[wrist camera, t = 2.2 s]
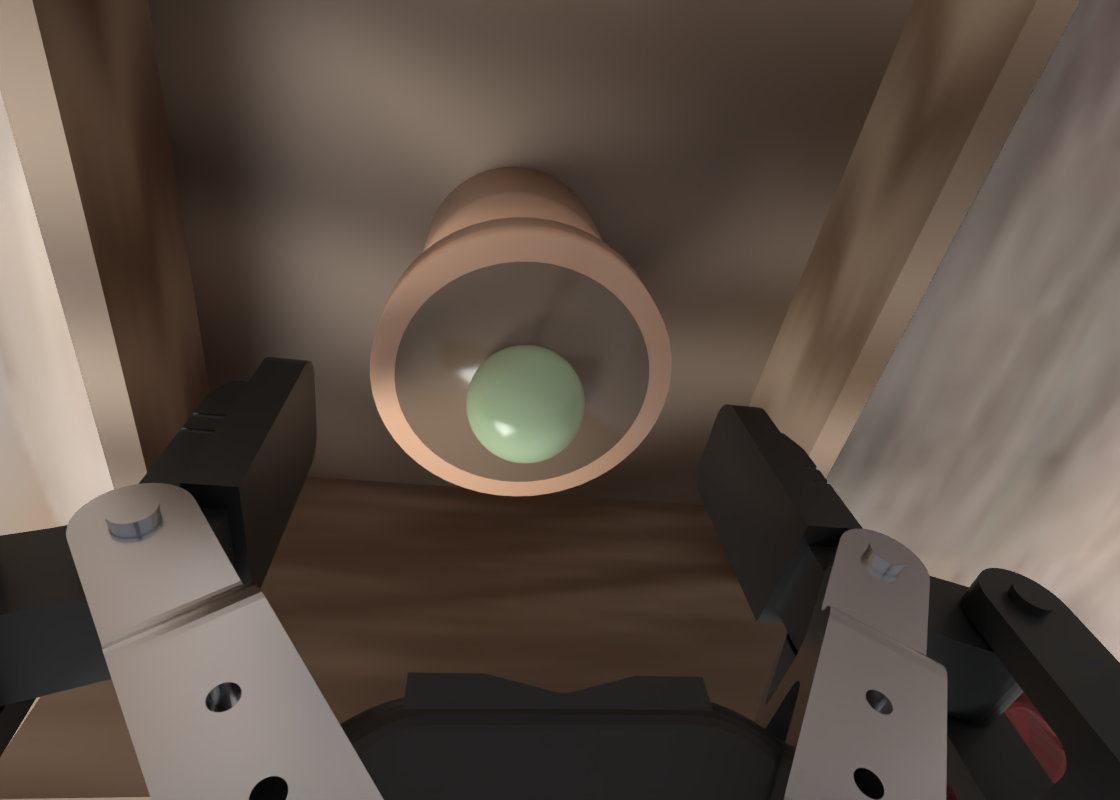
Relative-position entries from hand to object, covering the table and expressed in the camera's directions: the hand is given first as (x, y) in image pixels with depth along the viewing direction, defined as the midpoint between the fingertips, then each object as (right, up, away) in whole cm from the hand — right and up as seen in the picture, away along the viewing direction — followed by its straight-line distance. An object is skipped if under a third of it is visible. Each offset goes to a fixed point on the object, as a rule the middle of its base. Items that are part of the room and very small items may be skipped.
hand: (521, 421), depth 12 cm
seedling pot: (-1, +5, +8) cm, 9 cm away
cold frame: (-1, +5, +8) cm, 10 cm away
